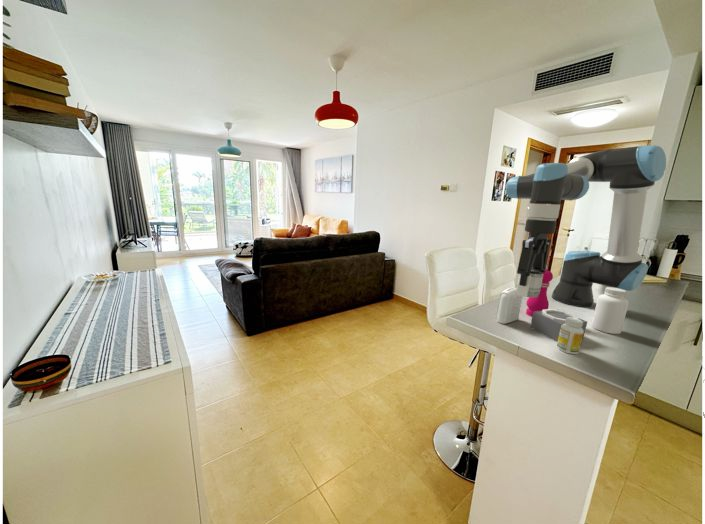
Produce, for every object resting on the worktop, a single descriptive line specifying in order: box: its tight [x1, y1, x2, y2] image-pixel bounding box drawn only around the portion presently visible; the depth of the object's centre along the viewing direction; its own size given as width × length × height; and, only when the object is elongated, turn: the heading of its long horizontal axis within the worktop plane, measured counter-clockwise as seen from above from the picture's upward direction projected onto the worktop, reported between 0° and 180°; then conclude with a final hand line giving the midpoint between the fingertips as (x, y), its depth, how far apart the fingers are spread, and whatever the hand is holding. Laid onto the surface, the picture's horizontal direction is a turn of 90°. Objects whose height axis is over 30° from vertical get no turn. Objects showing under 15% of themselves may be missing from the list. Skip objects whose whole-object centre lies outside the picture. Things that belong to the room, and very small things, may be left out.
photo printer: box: [495, 287, 524, 325], centre depth 102 cm, size 10×4×12 cm, turn 123°
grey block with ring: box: [529, 308, 588, 342], centre depth 94 cm, size 11×10×7 cm
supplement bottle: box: [556, 317, 584, 355], centre depth 83 cm, size 5×5×10 cm
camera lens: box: [516, 268, 543, 298], centre depth 87 cm, size 6×6×8 cm
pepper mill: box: [525, 265, 554, 318], centre depth 108 cm, size 7×7×20 cm
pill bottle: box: [591, 286, 629, 335], centre depth 98 cm, size 8×8×15 cm
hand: (527, 293), depth 88 cm, fingers closed on camera lens, 6 cm apart
